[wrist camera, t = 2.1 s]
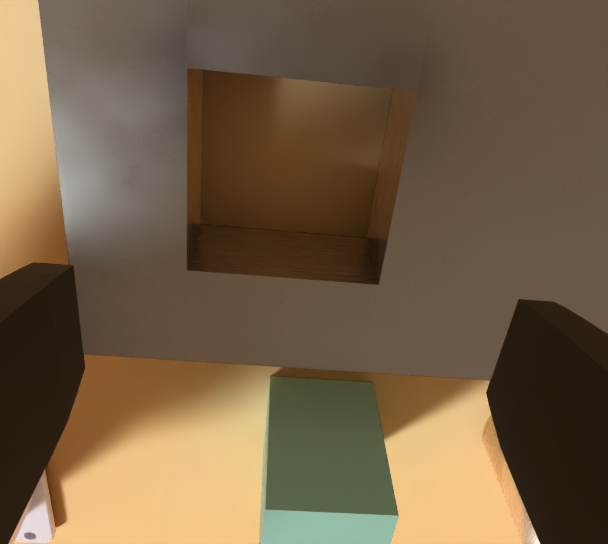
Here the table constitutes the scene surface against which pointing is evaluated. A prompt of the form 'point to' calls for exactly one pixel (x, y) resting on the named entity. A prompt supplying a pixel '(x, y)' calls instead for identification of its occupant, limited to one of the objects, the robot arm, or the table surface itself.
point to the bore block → (388, 192)
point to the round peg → (508, 485)
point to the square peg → (325, 465)
